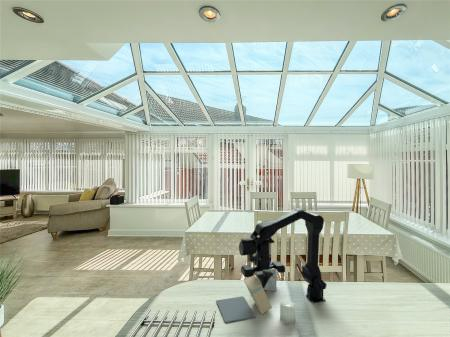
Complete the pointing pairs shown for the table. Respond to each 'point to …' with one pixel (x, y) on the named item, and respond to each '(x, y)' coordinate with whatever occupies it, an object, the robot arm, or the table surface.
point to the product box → (270, 281)
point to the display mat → (235, 309)
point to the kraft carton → (258, 294)
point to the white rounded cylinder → (287, 312)
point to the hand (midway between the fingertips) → (262, 288)
